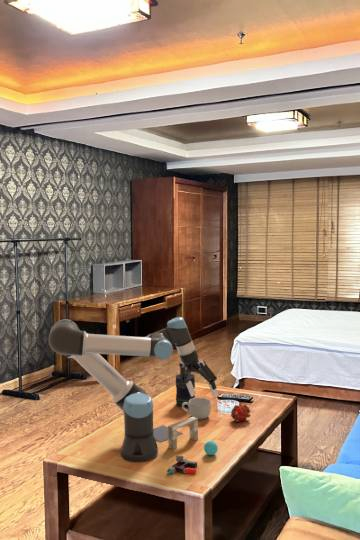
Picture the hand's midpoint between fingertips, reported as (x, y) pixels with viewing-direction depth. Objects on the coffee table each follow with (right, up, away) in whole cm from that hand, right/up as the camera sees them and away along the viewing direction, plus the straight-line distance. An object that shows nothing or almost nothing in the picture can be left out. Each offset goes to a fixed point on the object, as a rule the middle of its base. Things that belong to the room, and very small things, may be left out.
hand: (204, 395), depth 235 cm
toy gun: (-9, -22, -32) cm, 40 cm away
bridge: (-9, -19, -7) cm, 22 cm away
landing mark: (-19, -18, +3) cm, 26 cm away
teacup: (-3, -16, +23) cm, 28 cm away
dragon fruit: (+18, -16, +17) cm, 29 cm away
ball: (+2, -17, -19) cm, 25 cm away
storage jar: (-8, -14, +40) cm, 43 cm away
